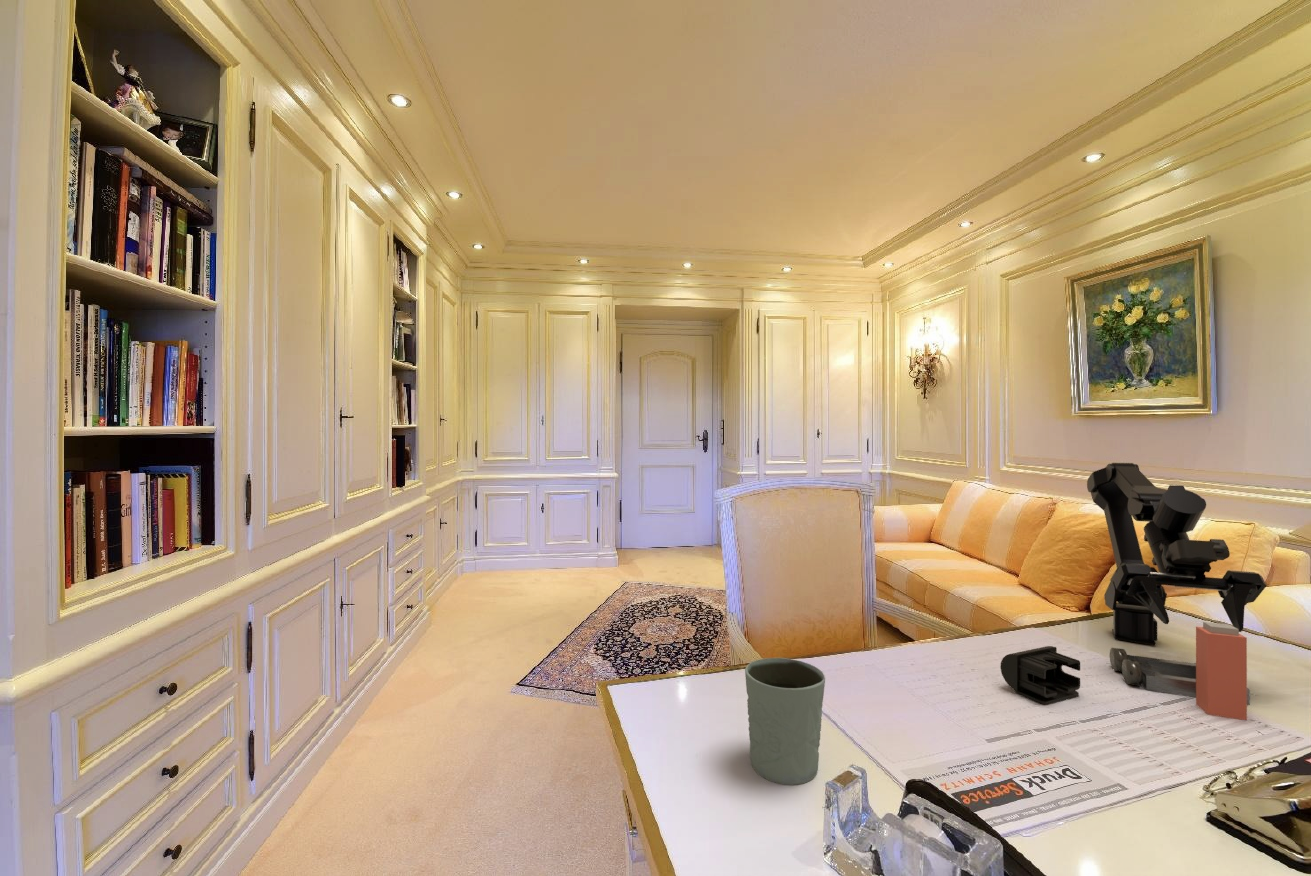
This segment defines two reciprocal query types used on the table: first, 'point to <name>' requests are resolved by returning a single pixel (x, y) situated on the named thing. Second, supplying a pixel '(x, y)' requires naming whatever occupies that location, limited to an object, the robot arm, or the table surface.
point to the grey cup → (784, 718)
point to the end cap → (1041, 675)
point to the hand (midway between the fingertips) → (1203, 626)
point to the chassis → (1157, 673)
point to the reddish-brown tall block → (1221, 670)
